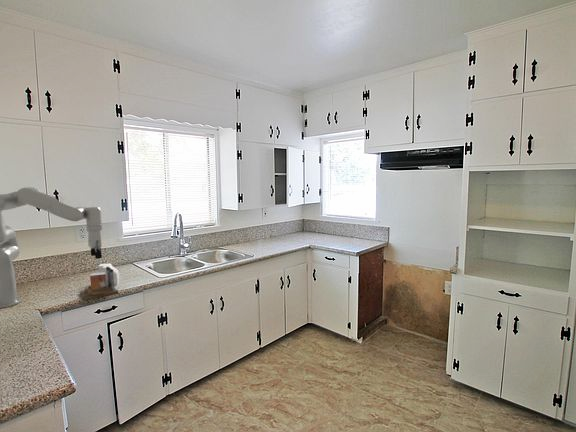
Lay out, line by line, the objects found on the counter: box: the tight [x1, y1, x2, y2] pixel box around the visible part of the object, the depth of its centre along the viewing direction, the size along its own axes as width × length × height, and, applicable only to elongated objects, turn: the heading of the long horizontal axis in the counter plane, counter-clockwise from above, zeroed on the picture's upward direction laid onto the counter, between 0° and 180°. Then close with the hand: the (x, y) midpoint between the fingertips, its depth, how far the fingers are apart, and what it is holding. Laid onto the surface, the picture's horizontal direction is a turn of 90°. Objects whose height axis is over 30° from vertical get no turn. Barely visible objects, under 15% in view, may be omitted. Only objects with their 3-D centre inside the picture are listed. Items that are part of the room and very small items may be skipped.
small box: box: [89, 272, 107, 290], centre depth 191 cm, size 8×6×10 cm
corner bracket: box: [98, 263, 120, 286], centre depth 210 cm, size 11×11×12 cm
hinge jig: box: [79, 267, 119, 301], centre depth 190 cm, size 15×17×14 cm
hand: (96, 256), depth 189 cm, fingers open, 9 cm apart
